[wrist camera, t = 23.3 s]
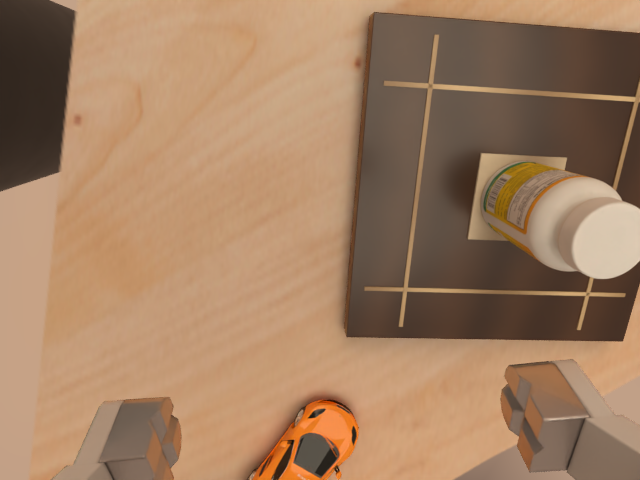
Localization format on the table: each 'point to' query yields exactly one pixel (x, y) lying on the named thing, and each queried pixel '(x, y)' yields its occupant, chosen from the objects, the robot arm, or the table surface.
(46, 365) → the table surface
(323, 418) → the toy car
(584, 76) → the board
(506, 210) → the supplement bottle
